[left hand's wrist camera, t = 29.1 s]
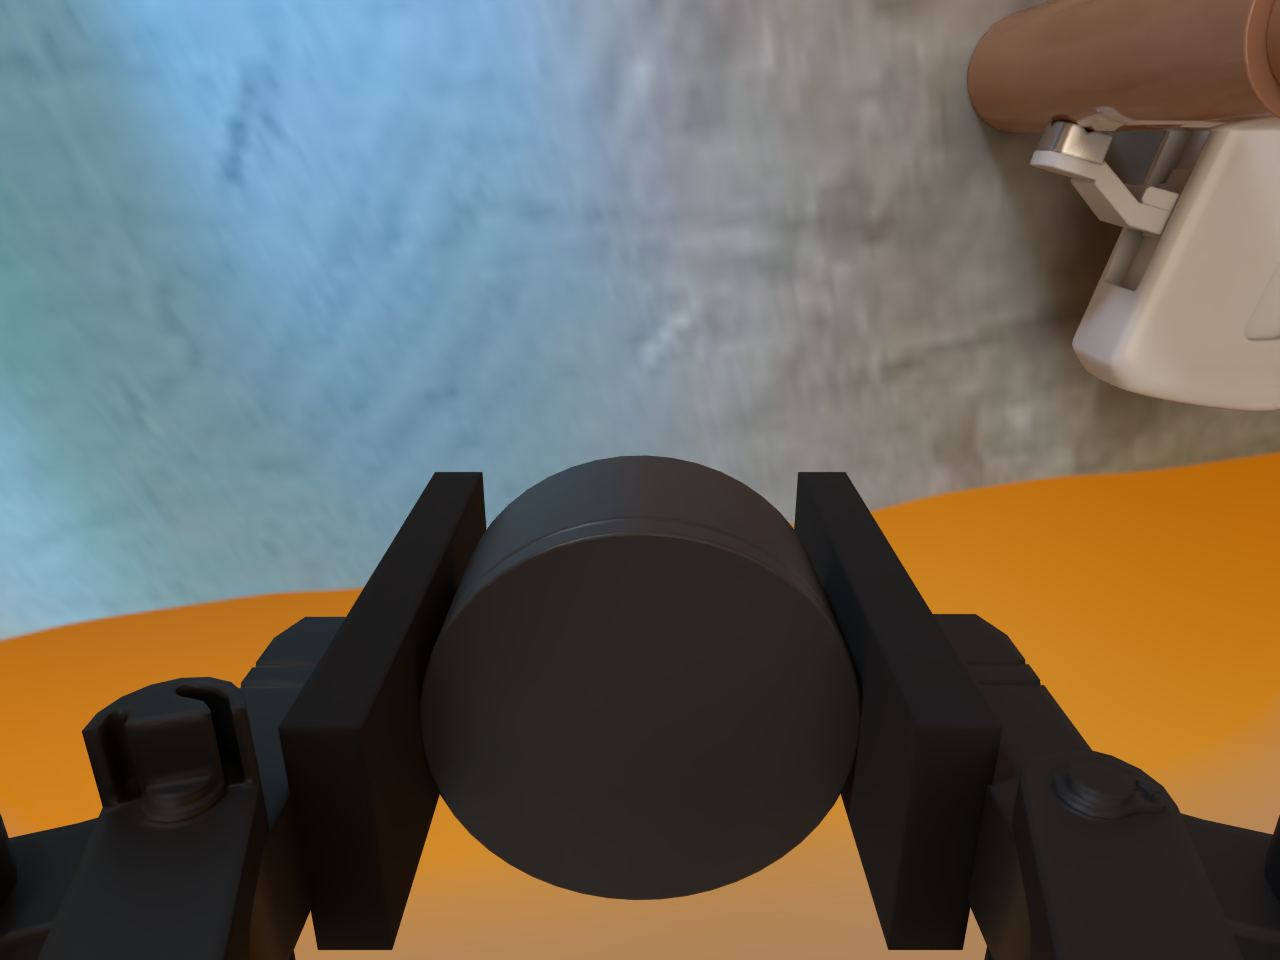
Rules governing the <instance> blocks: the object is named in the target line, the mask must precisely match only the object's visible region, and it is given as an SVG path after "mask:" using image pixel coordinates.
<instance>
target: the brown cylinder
mask: <svg viewBox="0 0 1280 960" xmlns="http://www.w3.org/2000/svg"><path fill="white" fill-rule="evenodd" d="M968 91H969V96H970V99H971V102H972V105H973V107H974V109H975V110H976V112H977V113H978V115H979V116H980V117H981V118H982V119H983V120H984V121H985V122H986V123H987V124H989V125H990V126H992V127H994V128H996V129H998V130H1001V131H1005V132H1013V133H1029V132H1043V131H1044V129H1045V127H1046V124H1047V122H1054V123H1055V122H1057V121H1059V122H1068V123H1072V124H1076V125H1079V126H1081V127H1084V129H1085V130H1086V131H1100V132H1151V131H1274V130H1280V0H1053V1H1050V2H1047V3H1044V4H1041V5H1038V6H1035V7H1031V8H1028V9H1025V10H1022V11H1019V12H1016V13H1014V14H1011V15H1009V16H1007V17H1005V18H1003V19H1002V20H1000V21H999V22H997V23H996V24H995V25H994V26H992V27H991V28H990V29H989V30H988V31H987V32H986V34H985V35H984V36H983V37H982V39H981V40H980V41H979V43H978V45H977V47H976V48H975V51H974V53H973V55H972V58H971V61H970V65H969V70H968Z"/></svg>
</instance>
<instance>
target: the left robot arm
mask: <svg viewBox="0 0 1280 960" xmlns="http://www.w3.org/2000/svg"><path fill="white" fill-rule="evenodd" d="M794 530H795V532H796V533H797V535H798V536H799V538H800V540H801V541H802V543H803V545H804V546H805V548H806V550H807V552H808V554H809V557H810V559H811V561H812V564H813V566H814V568H815V571H816V573H817V576H818V578H819V581H820V583H821V586H822V588H823V590H824V593H825V595H826V598H827V600H828V603H829V605H830V608H831V610H832V613H833V615H834V618H835V620H836V623H837V625H838V627H839V630H840V632H841V635H842V637H843V640H844V642H845V645H846V647H847V650H848V652H849V655H850V657H851V659H852V662H853V664H854V668H855V672H856V676H857V680H858V684H859V688H860V698H861V723H860V732H859V741H858V749H857V753H856V758H855V762H854V764H853V767H852V770H851V772H850V775H849V777H848V780H847V782H846V785H845V786H844V788H843V790H842V792H841V796H842V800H843V803H844V806H845V809H846V813H847V816H848V819H849V822H850V826H851V829H852V832H853V836H854V839H855V842H856V845H857V848H858V852H859V855H860V858H861V862H862V865H863V868H864V872H865V875H866V878H867V881H868V885H869V888H870V891H871V895H872V898H873V901H874V904H875V908H876V911H877V914H878V917H879V921H880V924H881V927H882V931H883V934H884V937H885V940H886V944H887V947H888V950H963V945H964V940H965V934H966V928H967V923H968V917H969V912H970V907H971V909H972V912H973V914H974V916H975V919H976V921H977V923H978V925H979V928H980V930H981V933H982V935H983V937H984V939H985V942H986V944H987V950H986V954H985V960H1280V816H1279V819H1278V822H1277V825H1276V828H1275V831H1274V834H1273V835H1272V834H1267V833H1262V832H1258V831H1253V830H1249V829H1244V828H1239V827H1235V826H1230V825H1225V824H1221V823H1216V822H1212V821H1207V820H1203V819H1199V818H1196V817H1192V816H1188V815H1185V814H1181V813H1180V811H1179V809H1178V807H1177V805H1176V804H1175V802H1174V801H1173V800H1172V798H1171V797H1170V795H1169V794H1168V793H1167V791H1166V790H1165V788H1164V787H1163V786H1162V785H1160V784H1159V783H1158V782H1156V781H1155V780H1154V779H1153V778H1151V777H1150V776H1149V775H1147V774H1146V773H1145V772H1143V771H1142V770H1141V769H1139V768H1137V767H1135V766H1133V765H1131V764H1128V763H1126V762H1124V761H1122V760H1120V759H1118V758H1116V757H1114V756H1111V755H1107V754H1103V753H1099V752H1095V751H1092V750H1091V748H1090V747H1089V745H1088V744H1087V743H1086V741H1085V740H1084V739H1083V737H1082V736H1081V735H1080V733H1079V732H1078V731H1077V729H1076V728H1075V727H1074V725H1073V724H1072V722H1071V721H1070V720H1069V718H1068V717H1067V716H1066V714H1065V713H1064V712H1063V710H1062V709H1061V708H1060V706H1059V705H1058V703H1057V702H1056V701H1055V699H1054V698H1053V697H1052V695H1051V694H1050V693H1049V691H1048V690H1047V689H1046V687H1045V686H1044V685H1040V679H1039V678H1038V676H1037V675H1036V674H1035V672H1034V671H1033V670H1032V668H1031V667H1030V666H1029V665H1028V664H1025V659H1024V657H1023V656H1022V655H1021V653H1020V652H1019V651H1018V649H1017V648H1016V647H1015V645H1014V644H1013V642H1012V641H1011V640H1010V638H1009V637H1008V636H1007V635H1006V634H1005V633H1003V632H1002V631H1000V630H999V629H997V628H996V627H994V626H993V625H991V624H990V623H988V622H987V621H985V620H984V619H982V618H981V617H979V616H978V615H976V614H932V612H931V611H930V609H929V607H928V606H927V604H926V603H925V601H924V599H923V598H922V596H921V594H920V593H919V591H918V590H917V588H916V586H915V585H914V583H913V581H912V580H911V578H910V577H909V575H908V573H907V572H906V570H905V568H904V567H903V565H902V564H901V562H900V560H899V559H898V557H897V555H896V554H895V552H894V551H893V549H892V547H891V546H890V544H889V542H888V541H887V539H886V537H885V536H884V534H883V533H882V531H881V529H880V528H879V526H878V524H877V523H876V521H875V520H874V518H873V516H872V515H871V513H870V511H869V510H868V508H867V507H866V505H865V503H864V502H863V500H862V498H861V497H860V495H859V493H858V492H857V490H856V489H855V487H854V485H853V484H852V482H851V480H850V479H849V477H848V476H847V474H846V472H798V483H797V497H796V512H795V526H794ZM485 531H486V518H485V504H484V489H483V475H482V472H435V473H434V475H433V476H432V478H431V480H430V481H429V483H428V485H427V486H426V488H425V490H424V491H423V493H422V494H421V496H420V498H419V499H418V501H417V503H416V504H415V506H414V507H413V509H412V511H411V512H410V514H409V516H408V517H407V519H406V520H405V522H404V524H403V525H402V527H401V529H400V530H399V532H398V534H397V535H396V537H395V538H394V540H393V542H392V543H391V545H390V547H389V548H388V550H387V551H386V553H385V555H384V556H383V558H382V560H381V561H380V563H379V564H378V566H377V568H376V569H375V571H374V573H373V574H372V576H371V578H370V579H369V581H368V582H367V584H366V586H365V587H364V589H363V591H362V592H361V594H360V595H359V597H358V599H357V600H356V602H355V604H354V605H353V607H352V609H351V610H350V612H349V613H348V615H347V617H304V618H303V619H302V620H300V621H299V622H297V623H296V624H294V625H293V626H291V627H290V628H288V629H287V630H285V631H284V632H282V633H281V634H279V635H278V636H276V637H275V638H274V639H273V640H272V641H271V643H270V644H269V646H268V647H267V648H266V650H265V651H264V653H263V654H262V655H261V656H260V658H259V659H258V661H257V662H256V667H253V668H252V669H251V670H250V672H249V673H248V674H247V676H246V677H245V678H244V680H243V681H242V682H241V688H237V687H236V686H235V685H234V684H233V683H231V682H228V681H224V680H220V679H216V678H211V677H195V678H179V679H175V680H171V681H166V682H161V683H157V684H152V685H149V686H147V687H145V688H142V689H140V690H137V691H135V692H132V693H130V694H128V695H125V696H123V697H121V698H119V699H118V700H116V701H115V702H113V703H112V704H110V705H109V706H107V707H106V708H104V709H103V710H101V711H100V712H98V713H97V714H96V715H95V716H94V717H93V719H92V720H91V721H90V722H89V723H88V725H87V726H86V727H85V728H84V729H83V730H82V734H83V737H84V741H85V745H86V748H87V752H88V755H89V759H90V763H91V766H92V770H93V773H94V777H95V781H96V784H97V788H98V791H99V795H100V798H101V802H102V806H103V808H102V811H101V813H100V815H99V817H98V818H95V819H92V820H88V821H84V822H81V823H77V824H72V825H68V826H63V827H59V828H54V829H50V830H45V831H40V832H36V833H31V834H27V835H22V836H17V837H13V838H8V835H7V832H6V829H5V826H4V823H3V820H2V817H1V814H0V960H295V954H294V948H295V946H296V943H297V941H298V939H299V936H300V934H301V931H302V929H303V927H304V924H305V922H306V920H307V917H308V915H309V913H310V910H311V914H312V920H313V925H314V931H315V936H316V942H317V948H318V950H392V949H393V945H394V942H395V939H396V936H397V932H398V929H399V926H400V922H401V919H402V916H403V913H404V909H405V906H406V903H407V900H408V896H409V893H410V890H411V887H412V883H413V880H414V877H415V873H416V870H417V867H418V863H419V860H420V857H421V854H422V850H423V847H424V844H425V841H426V837H427V834H428V831H429V828H430V824H431V821H432V818H433V814H434V811H435V808H436V804H437V801H438V798H439V795H440V793H439V791H438V789H437V787H436V785H435V782H434V780H433V778H432V776H431V774H430V771H429V768H428V765H427V762H426V758H425V755H424V752H423V745H422V736H421V727H420V713H419V700H420V694H421V688H422V682H423V677H424V674H425V671H426V668H427V665H428V662H429V659H430V656H431V653H432V650H433V648H434V646H435V643H436V641H437V639H438V636H439V633H440V631H441V628H442V626H443V623H444V621H445V618H446V616H447V614H448V611H449V609H450V606H451V604H452V601H453V599H454V596H455V594H456V591H457V589H458V586H459V584H460V581H461V579H462V577H463V574H464V572H465V569H466V567H467V564H468V562H469V559H470V557H471V555H472V554H473V552H474V550H475V548H476V546H477V544H478V542H479V540H480V538H481V537H482V536H483V534H484V533H485Z"/></svg>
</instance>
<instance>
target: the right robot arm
mask: <svg viewBox="0 0 1280 960" xmlns="http://www.w3.org/2000/svg"><path fill="white" fill-rule="evenodd" d="M1112 138H1113V135H1110V134H1106V133H1103V132H1100V131H1086V130H1085V129H1084V127H1081V126H1079V125H1076V124H1072V123H1068V122H1059V121H1057V122H1055V123H1054V122H1047V124H1046V127H1045V129H1044V131H1043V134H1042V136H1041V138H1040V141H1039V143H1038V145H1037V148H1036V150H1035V151H1034V154H1033V157H1032V160H1031V162H1030V165H1032V166H1034V167H1037V168H1040V169H1043V170H1047V171H1050V172H1054V173H1057V174H1061V175H1064V176H1067V177H1071V181H1070V182H1071V183H1072V184H1073V186H1074V187H1075V188H1076V190H1077V191H1078V192H1079V194H1080V195H1081V196H1082V198H1083V199H1084V200H1085V202H1086V203H1087V204H1088V206H1089V207H1090V208H1091V210H1092V211H1093V212H1094V214H1095V215H1096V216H1097V218H1098V219H1099V220H1100V221H1104V222H1107V223H1111V224H1114V225H1117V226H1121V227H1123V229H1122V231H1121V233H1120V235H1119V238H1118V240H1117V242H1116V244H1115V247H1114V249H1113V251H1112V253H1111V256H1110V258H1109V260H1108V262H1107V265H1106V267H1105V269H1104V271H1103V273H1102V276H1101V278H1100V280H1099V282H1098V285H1097V287H1096V289H1095V291H1094V294H1093V296H1092V298H1091V300H1090V303H1089V305H1088V307H1087V309H1086V312H1085V314H1084V316H1083V318H1082V320H1081V323H1080V325H1079V327H1078V329H1077V331H1076V333H1075V336H1074V338H1073V342H1072V347H1073V350H1074V352H1075V354H1076V356H1077V358H1078V359H1079V361H1080V363H1081V364H1082V366H1083V367H1084V369H1085V370H1086V371H1087V372H1089V373H1090V374H1092V375H1093V376H1095V377H1097V378H1098V379H1100V380H1102V381H1104V382H1107V383H1109V384H1111V385H1113V386H1116V387H1118V388H1121V389H1123V390H1127V391H1130V392H1133V393H1137V394H1141V395H1145V396H1149V397H1154V398H1158V399H1163V400H1168V401H1174V402H1179V403H1185V404H1191V405H1198V406H1205V407H1213V408H1222V409H1231V410H1243V411H1269V410H1277V409H1280V130H1274V131H1166V133H1165V135H1164V137H1163V139H1162V142H1161V144H1160V146H1159V148H1158V151H1157V153H1156V155H1155V157H1154V160H1153V162H1152V164H1151V166H1150V168H1149V171H1148V173H1147V175H1146V177H1145V180H1144V182H1143V184H1142V185H1133V184H1123V183H1122V181H1121V180H1120V179H1119V178H1118V176H1117V175H1116V174H1115V173H1114V172H1113V170H1112V169H1111V168H1110V167H1109V166H1108V164H1107V163H1106V162H1105V161H1104V158H1105V156H1106V153H1107V151H1108V148H1109V146H1110V143H1111V141H1112Z"/></svg>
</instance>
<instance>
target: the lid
mask: <svg viewBox="0 0 1280 960" xmlns="http://www.w3.org/2000/svg"><path fill="white" fill-rule="evenodd" d="M419 713H420V727H421V736H422V745H423V752H424V755H425V758H426V762H427V765H428V768H429V771H430V774H431V776H432V778H433V780H434V782H435V785H436V787H437V789H438V791H439V793H440V795H441V797H442V798H443V799H444V801H445V803H446V804H447V805H448V807H449V808H450V810H451V811H452V813H453V814H454V816H455V817H456V818H457V819H458V820H459V822H460V823H461V824H462V825H463V826H464V827H465V828H466V829H467V831H468V832H469V833H470V834H471V835H472V836H473V837H475V838H476V839H477V840H478V841H479V842H480V843H481V844H482V845H484V846H485V847H486V848H487V849H488V850H489V851H491V852H492V853H494V854H495V855H497V856H498V857H500V858H501V859H502V860H504V861H505V862H507V863H508V864H510V865H511V866H513V867H515V868H517V869H519V870H521V871H523V872H525V873H526V874H528V875H530V876H532V877H534V878H537V879H539V880H542V881H544V882H547V883H549V884H552V885H555V886H557V887H560V888H564V889H568V890H571V891H575V892H578V893H582V894H588V895H593V896H599V897H605V898H613V899H627V900H653V899H667V898H674V897H683V896H689V895H693V894H698V893H702V892H706V891H710V890H714V889H717V888H720V887H723V886H726V885H729V884H732V883H734V882H737V881H739V880H741V879H744V878H746V877H748V876H750V875H752V874H754V873H756V872H759V871H761V870H762V869H764V868H765V867H767V866H769V865H770V864H772V863H774V862H775V861H777V860H778V859H780V858H782V857H783V856H784V855H786V854H787V853H788V852H790V851H791V850H792V849H793V848H795V847H796V846H797V845H798V844H800V843H801V842H802V841H803V840H804V839H805V838H806V837H807V836H808V835H809V834H810V833H811V832H812V831H813V830H814V829H815V828H816V827H817V826H818V825H819V824H820V823H821V821H822V820H823V819H824V817H825V816H826V815H827V813H828V812H829V811H830V810H831V808H832V807H833V806H834V804H835V802H836V801H837V799H838V797H839V795H840V793H841V792H842V790H843V788H844V786H845V785H846V782H847V780H848V777H849V775H850V772H851V770H852V767H853V764H854V762H855V758H856V753H857V749H858V741H859V732H860V723H861V698H860V688H859V684H858V680H857V676H856V672H855V668H854V664H853V662H852V659H851V657H850V655H849V652H848V650H847V647H846V645H845V642H844V640H843V637H842V635H841V632H840V630H839V627H838V625H837V623H836V620H835V618H834V615H833V613H832V610H831V608H830V605H829V603H828V600H827V598H826V595H825V593H824V590H823V588H822V586H821V583H820V581H819V578H818V576H817V573H816V571H815V568H814V566H813V564H812V561H811V559H810V557H809V554H808V552H807V550H806V548H805V546H804V545H803V543H802V541H801V540H800V538H799V536H798V535H797V533H796V532H795V530H794V529H793V528H792V526H791V525H790V524H789V523H788V522H787V520H786V519H785V518H784V517H783V516H782V514H781V513H780V512H779V511H778V510H777V509H776V508H774V507H773V506H772V505H771V504H770V503H769V502H768V501H767V500H766V499H765V498H763V497H762V496H761V495H759V494H758V493H756V492H755V491H754V490H752V489H751V488H749V487H748V486H746V485H745V484H743V483H742V482H740V481H738V480H736V479H734V478H732V477H730V476H728V475H726V474H724V473H722V472H720V471H717V470H714V469H711V468H708V467H706V466H703V465H700V464H697V463H693V462H688V461H684V460H679V459H675V458H667V457H656V456H620V457H614V458H608V459H601V460H595V461H592V462H588V463H585V464H581V465H578V466H574V467H571V468H569V469H566V470H564V471H562V472H559V473H557V474H555V475H552V476H550V477H548V478H546V479H545V480H543V481H541V482H540V483H538V484H536V485H535V486H533V487H531V488H530V489H528V490H526V491H525V492H524V493H523V494H521V495H520V496H519V497H518V498H516V499H515V500H514V501H513V502H511V503H510V504H509V505H508V506H507V507H506V508H505V509H504V510H503V511H502V512H501V513H500V514H499V515H498V516H497V517H496V518H495V520H494V521H493V522H492V523H491V524H490V526H489V527H488V529H487V530H486V531H485V533H484V534H483V536H482V537H481V538H480V540H479V542H478V544H477V546H476V548H475V550H474V552H473V554H472V555H471V557H470V559H469V562H468V564H467V567H466V569H465V572H464V574H463V577H462V579H461V581H460V584H459V586H458V589H457V591H456V594H455V596H454V599H453V601H452V604H451V606H450V609H449V611H448V614H447V616H446V618H445V621H444V623H443V626H442V628H441V631H440V633H439V636H438V639H437V641H436V643H435V646H434V648H433V650H432V653H431V656H430V659H429V662H428V665H427V668H426V671H425V674H424V677H423V682H422V688H421V694H420V700H419Z"/></svg>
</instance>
